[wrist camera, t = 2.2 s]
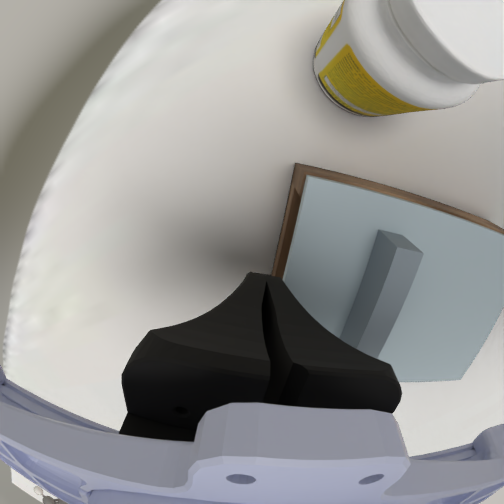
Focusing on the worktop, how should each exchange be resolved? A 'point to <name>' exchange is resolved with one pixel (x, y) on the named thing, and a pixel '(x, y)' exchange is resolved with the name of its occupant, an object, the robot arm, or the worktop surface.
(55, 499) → the molecule model
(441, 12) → the supplement bottle
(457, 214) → the case
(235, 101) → the worktop surface
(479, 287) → the lid
